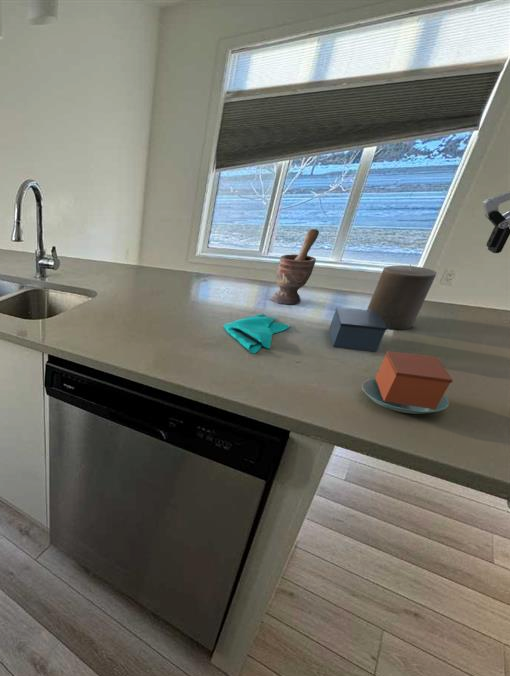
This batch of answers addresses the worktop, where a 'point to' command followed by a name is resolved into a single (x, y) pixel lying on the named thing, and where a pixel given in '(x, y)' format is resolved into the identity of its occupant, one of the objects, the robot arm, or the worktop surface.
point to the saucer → (375, 394)
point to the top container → (412, 379)
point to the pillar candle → (401, 294)
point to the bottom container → (357, 329)
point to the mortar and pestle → (295, 271)
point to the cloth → (255, 331)
